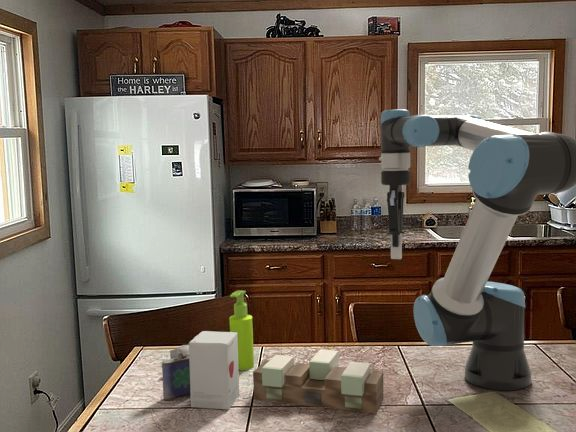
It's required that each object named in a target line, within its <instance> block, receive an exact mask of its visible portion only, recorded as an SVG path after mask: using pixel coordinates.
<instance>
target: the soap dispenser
mask: <svg viewBox="0 0 576 432" xmlns="http://www.w3.org/2000/svg"><path fill="white" fill-rule="evenodd" d="M245 294H246V290H241V289H239V290H238V289H237V290H235V291H234V292H232V293H231V294H230V295H229V297H230V298H235V299H236V302H235V303H234V304H233V315H231V316H229V319H228V320H229V332H237V339H238V370H239V371H246V370H251V369H252V368H254V367H255V362H254V361H255V360H254V359H255V358H254V328H253V316H252V314H251V315H250V314H248V303H247V302H245V300H244V295H245Z"/></svg>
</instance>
